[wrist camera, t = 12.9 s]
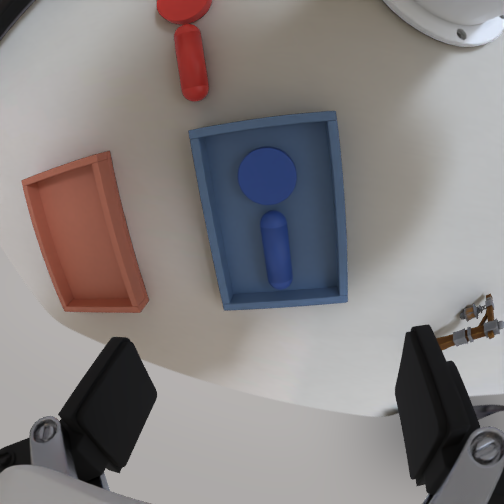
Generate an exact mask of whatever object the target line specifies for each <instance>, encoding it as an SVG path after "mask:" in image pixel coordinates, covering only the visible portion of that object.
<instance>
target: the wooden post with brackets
mask: <svg viewBox="0 0 504 504" xmlns="http://www.w3.org/2000/svg"><path fill="white" fill-rule="evenodd" d="M485 302H486V305H484V306H482V307H483V310H484V309H487V310H486V314H485V316H484V317H483V319H482V321H481V322H480V324H479V326H478V327H475V328H471V327H467V330H465V328H464V329H463V330H460V331H457V332H453V334H452V335H449V336H445V337H440V338H436V339H437V341H438V344H439V346H440V348H441V350H444V349H446V348H448V347H451V346H454V345H456V346H459V345H462V344H468V341H470V342H473V340H474V339H477V338H481V337H484V336H486V338H488V337H489V339H491V338H493V337H494V335H496V334H500V331H499V329H503V328H504V322H503V321H499V322H498V320H497V319H495V320H494V313H493V310H494V304H493V300H492V296H491V294H488V295H486V301H485ZM485 306H486V308H485ZM482 307H481V306H480V305H479V307H476V306H475V304H474V303H473V306H472V307H469V308H464V312H463V313H461V314H460V318H461V319H465V318H466V320H467V322H468V321H469V320H470V319H472V318H474V317H476V318H477V319H478V314H479V313H480V312H481V313H482V311H483V310H482ZM487 318H488V322H487V323H485V321H486V320H487Z"/></svg>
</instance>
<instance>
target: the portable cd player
mask: <svg viewBox="0 0 504 504" xmlns="http://www.w3.org/2000/svg"><path fill="white" fill-rule="evenodd" d="M34 1H35V0H0V40H1V39H2V38H3V36H4V35H5V34H6V33H7V31H8V30H9V29H10V28H11V27H12V25H13V24H14V23H15V22H16V21H17V20H18V18H19V17H20V16H21V15H22V14H23V13H24V12H25V11H26V10H27V8H28V7H29V6H30V5H31V4H32V3H33V2H34Z"/></svg>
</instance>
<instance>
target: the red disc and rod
mask: <svg viewBox="0 0 504 504" xmlns="http://www.w3.org/2000/svg"><path fill="white" fill-rule="evenodd" d="M211 3H212V0H157V10H158V12H159V14H160V15H161V16H162V17H163V18H165V19H166V20H168V21H169V22H171V23H174V24H185V25H182V26H180V27H179V28H178V29H177V30H176V31H175V34H174V41H175V49H176V56H177V63H178V69H179V76H180V83H181V89H182V94H183V96H184V97H185V98H186V99H187V100H189V101H195V102H196V101H200V100H202V99H204V98H205V97H206V95H207V94H208V91H209V84H208V78H207V71H206V65H205V59H204V52H203V45H202V39H201V33H200V30H199V29H198V28H197V27H196V26H195V25H192V24H189V23H192V22H194V21H196V20H198V19H200V18H201V17H202V16H204V15H205V14H206V12H207V11H208V10H209V8H210V6H211Z"/></svg>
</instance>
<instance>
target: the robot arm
mask: <svg viewBox="0 0 504 504" xmlns="http://www.w3.org/2000/svg"><path fill="white" fill-rule="evenodd" d="M383 1H384V2H385V3H386V4H387V5H388V7H389V8H390V9H391V10H392V11H394V12H395V13H396V14H397V15H398V16H400V17H401V18H402V19H403V20H404V21H405V22H407V23H408V24H410V25H411V26H413V27H414V28H416V29H417V30H419V31H420V32H422V33H424V34H426V35H428V36H430V37H432V38H434V39H436V40H439V41H442V42H444V43H447V44H451V45H455V46H460V47H475V46H479V45H484V44H486V43H489V42H492V41H494V40H495V39H496V38H497V37H499V36H500V35H501V33H502V32H503V30H504V0H383ZM395 396H396V401H397V406H398V411H399V415H400V420H401V425H402V431H403V436H404V441H405V447H406V453H407V459H408V465H409V472H410V477H411V479H416V484H417V486H420V485H424V484H425V485H426V491H427V493H429V494H428V496H427V497H426V499H425V500H424V502H423V503H422V504H504V432H503V431H502V430H500V429H498V428H496V427H490V426H489V427H482V428H480V425H479V422H478V419H477V417H476V414H475V411H474V409H473V406H472V404H471V401H470V398H469V396H468V393H467V391H466V388H465V386H464V383H463V381H462V379H461V376H460V374H459V372H458V369H457V367H456V365H455V364H454V362H452V361H447V362H446V360H445V357H444V355H443V353H442V350H441V348H440V346H439V344H438V341H437V339H436V337H435V335H434V333H433V331H432V329H431V327H430V325H422V326H415V327H412V329H411V332H407V333H406V335H405V341H404V347H403V353H402V358H401V363H400V368H399V373H398V378H397V382H396V387H395ZM156 398H157V391H156V389H155V387H154V385H153V383H152V381H151V379H150V377H149V375H148V373H147V371H146V369H145V367H144V365H143V363H142V361H141V359H140V357H139V354H138V352H137V350H136V348H135V346H134V344H133V343H132V342H130V340H129V339H128V338H125V337H112V338H111V339H110V341H109V342H108V343H107V345H106V346H105V348H104V349H103V350H102V352H101V353H100V354H99V356H98V357H97V359H96V360H95V361H94V363H93V364H92V366H91V367H90V369H89V370H88V371H87V373H86V374H85V376H84V377H83V378H82V380H81V381H80V383H79V384H78V386H77V387H76V389H75V390H74V392H73V393H72V395H71V396H70V398H69V399H68V400H67V402H66V403H65V405H64V407H63V408H62V410H61V411H60V412H59V414H58V415H59V416H60V417H61V420H60V421H59V420H58V419H57V418H55V417H53V416H47V417H43V418H41V419H39V420H38V421H36V422H35V424H34V425H33V426H32V428H31V430H30V438H27V439H25V440H22V441H20V442H17V443H14V444H12V445H9V446H6V447H4V448H2V449H0V504H151V503H147V502H143V501H140V500H136V499H133V498H129V497H126V496H123V495H120V494H117V493H114V492H111V491H110V490H109V487H108V484H107V481H106V477H105V474H104V470H105V468H107V469H108V470H111V471H114V472H117V473H120V471H121V469H122V467H124V466H126V464H127V462H128V460H129V457H130V455H131V453H132V451H133V449H134V446H135V444H136V442H137V440H138V438H139V435H140V433H141V431H142V429H143V426H144V425H145V422H146V420H147V418H148V416H149V414H150V411H151V409H152V407H153V405H154V403H155V401H156Z"/></svg>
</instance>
